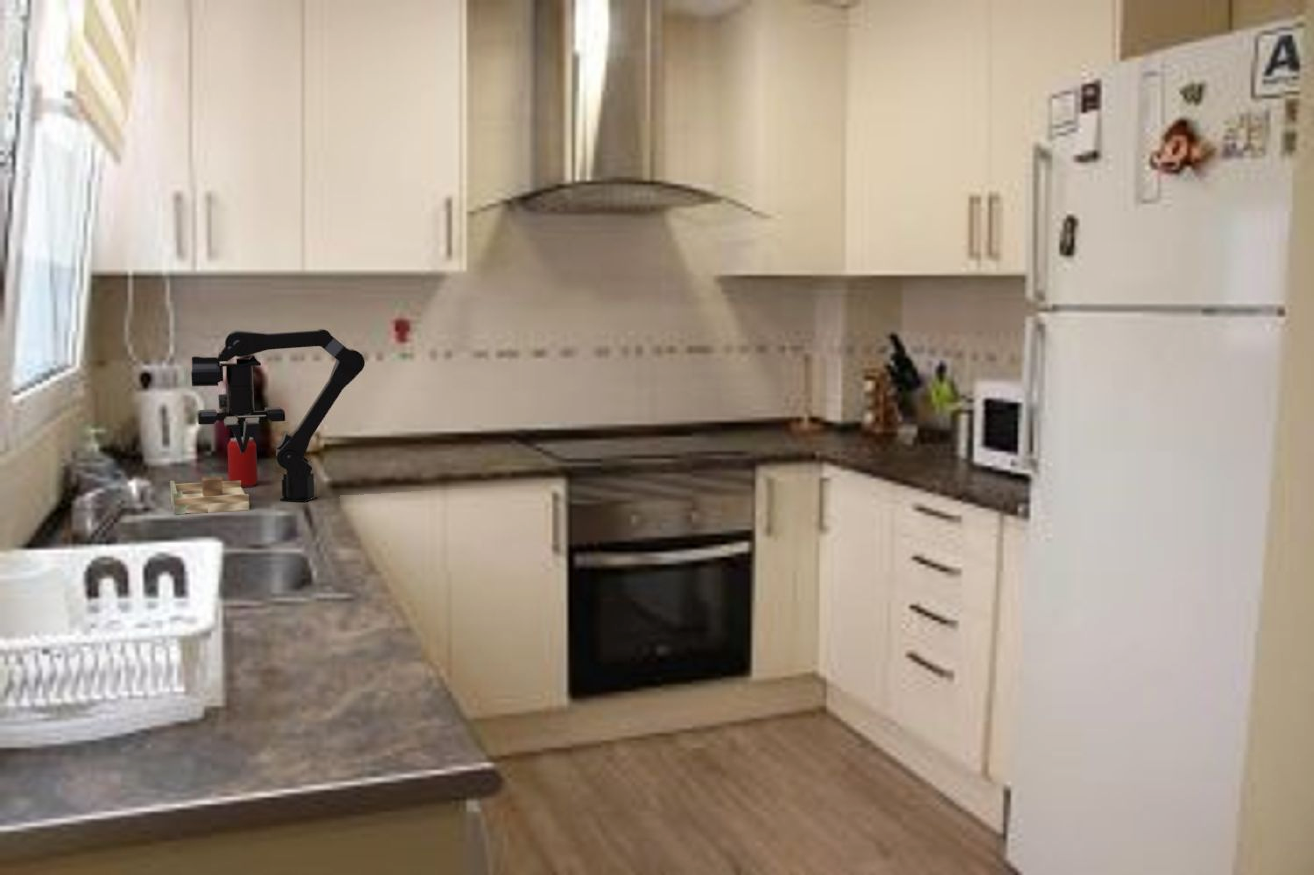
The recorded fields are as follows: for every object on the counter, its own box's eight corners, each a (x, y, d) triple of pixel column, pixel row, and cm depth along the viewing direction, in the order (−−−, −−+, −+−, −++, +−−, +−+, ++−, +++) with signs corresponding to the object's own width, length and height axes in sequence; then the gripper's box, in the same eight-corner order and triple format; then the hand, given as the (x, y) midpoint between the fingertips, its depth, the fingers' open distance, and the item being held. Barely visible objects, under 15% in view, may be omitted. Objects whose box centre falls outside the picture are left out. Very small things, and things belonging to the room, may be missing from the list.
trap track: (241, 494, 270) (240, 476, 269) (249, 509, 253) (248, 490, 252) (170, 499, 263) (170, 480, 263) (174, 514, 246) (173, 494, 246)
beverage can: (262, 483, 285) (260, 437, 283) (250, 488, 278) (248, 440, 276) (236, 482, 285) (235, 436, 284) (224, 487, 279) (222, 439, 277)
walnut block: (221, 493, 261) (220, 476, 260) (222, 496, 257) (222, 479, 257) (202, 494, 259) (202, 477, 259) (203, 497, 256) (203, 480, 255)
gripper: (278, 381, 269) (280, 445, 271) (194, 383, 261) (197, 450, 263) (284, 385, 259) (286, 452, 261) (197, 388, 251) (200, 457, 253)
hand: (242, 452), depth 260 cm, fingers closed
